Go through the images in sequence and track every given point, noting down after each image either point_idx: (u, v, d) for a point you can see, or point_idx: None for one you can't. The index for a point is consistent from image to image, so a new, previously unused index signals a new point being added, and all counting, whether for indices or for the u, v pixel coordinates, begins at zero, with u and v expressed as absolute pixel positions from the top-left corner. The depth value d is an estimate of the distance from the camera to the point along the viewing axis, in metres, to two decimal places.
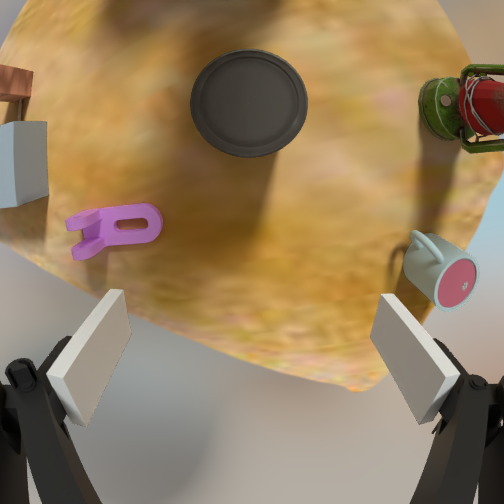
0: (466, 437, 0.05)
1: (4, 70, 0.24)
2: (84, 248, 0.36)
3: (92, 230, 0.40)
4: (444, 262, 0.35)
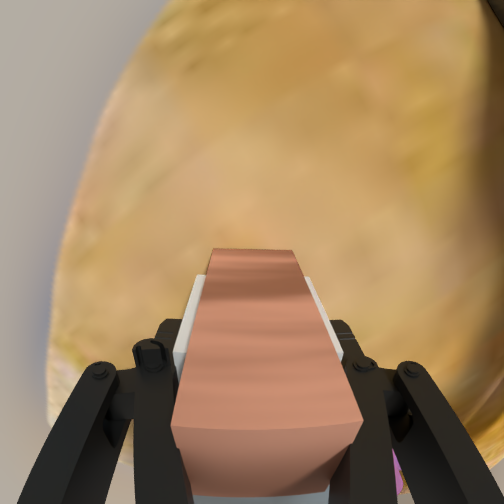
0: (365, 425, 0.07)
1: None
2: None
3: None
4: None
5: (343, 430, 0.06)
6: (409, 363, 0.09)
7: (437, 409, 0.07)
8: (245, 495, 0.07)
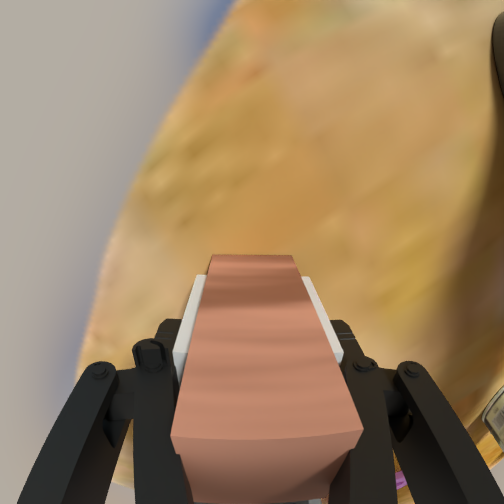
0: (365, 425, 0.07)
1: None
2: None
3: None
4: None
5: (343, 438, 0.06)
6: (410, 363, 0.09)
7: (437, 409, 0.07)
8: (246, 502, 0.07)
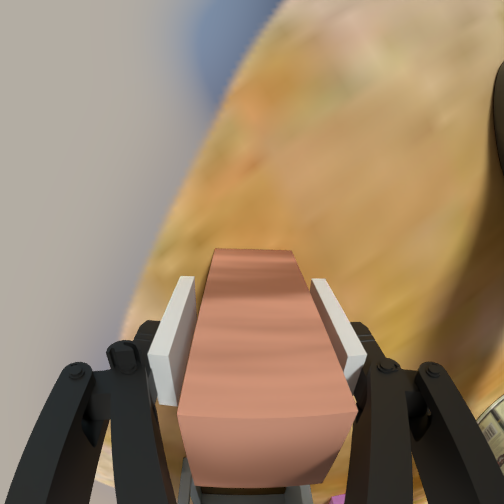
0: (386, 426, 0.07)
1: None
2: None
3: None
4: None
5: (339, 420, 0.06)
6: (431, 364, 0.09)
7: (455, 409, 0.07)
8: (246, 485, 0.08)
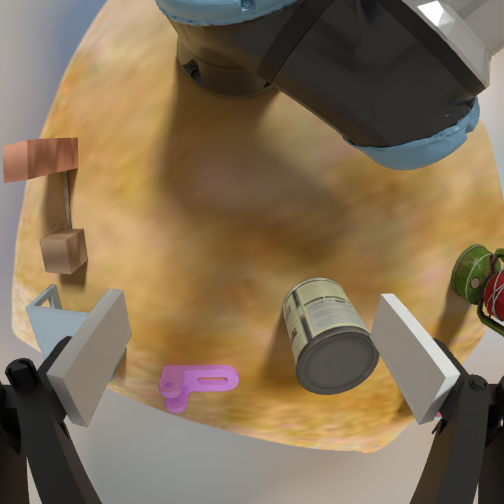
0: (466, 437, 0.06)
1: (47, 145, 0.28)
2: (178, 405, 0.44)
3: None
4: None
5: (24, 143, 0.24)
6: None
7: None
8: (13, 179, 0.25)
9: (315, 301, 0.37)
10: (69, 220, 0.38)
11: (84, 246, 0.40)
